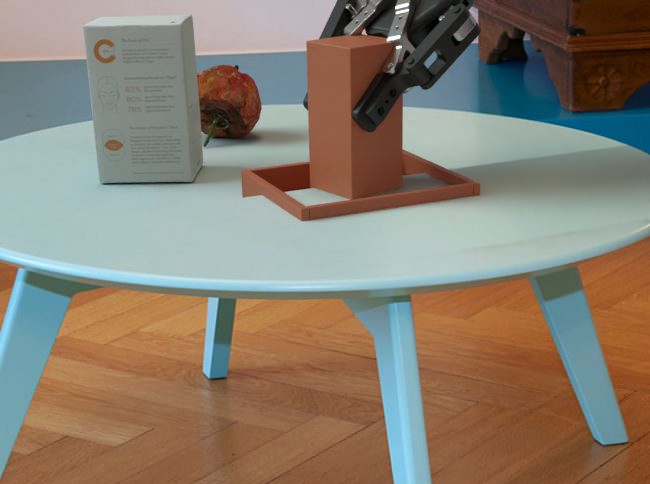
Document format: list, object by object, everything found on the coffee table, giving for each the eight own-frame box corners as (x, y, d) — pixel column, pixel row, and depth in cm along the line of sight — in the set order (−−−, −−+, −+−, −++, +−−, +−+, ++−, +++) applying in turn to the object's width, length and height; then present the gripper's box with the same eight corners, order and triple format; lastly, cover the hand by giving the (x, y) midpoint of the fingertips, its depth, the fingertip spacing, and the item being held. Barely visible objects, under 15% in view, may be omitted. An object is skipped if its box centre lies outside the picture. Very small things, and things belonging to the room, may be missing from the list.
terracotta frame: (403, 180, 94) (403, 149, 93) (479, 217, 84) (480, 183, 83) (242, 202, 89) (240, 169, 88) (302, 245, 78) (301, 209, 78)
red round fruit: (251, 170, 107) (291, 91, 111) (212, 117, 102) (255, 37, 106) (191, 169, 111) (231, 93, 115) (150, 119, 106) (195, 41, 110)
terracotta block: (359, 189, 89) (358, 33, 85) (402, 202, 86) (403, 40, 81) (310, 201, 87) (305, 40, 82) (352, 215, 83) (350, 48, 78)
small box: (204, 164, 100) (194, 13, 95) (193, 183, 94) (182, 22, 90) (113, 165, 101) (99, 14, 96) (97, 184, 95) (81, 24, 90)
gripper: (368, -102, 88) (247, 74, 85) (506, -99, 77) (372, 101, 75) (418, -35, 93) (305, 133, 90) (553, -24, 82) (429, 166, 80)
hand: (336, 118), depth 83 cm, fingers closed on terracotta block, 5 cm apart
